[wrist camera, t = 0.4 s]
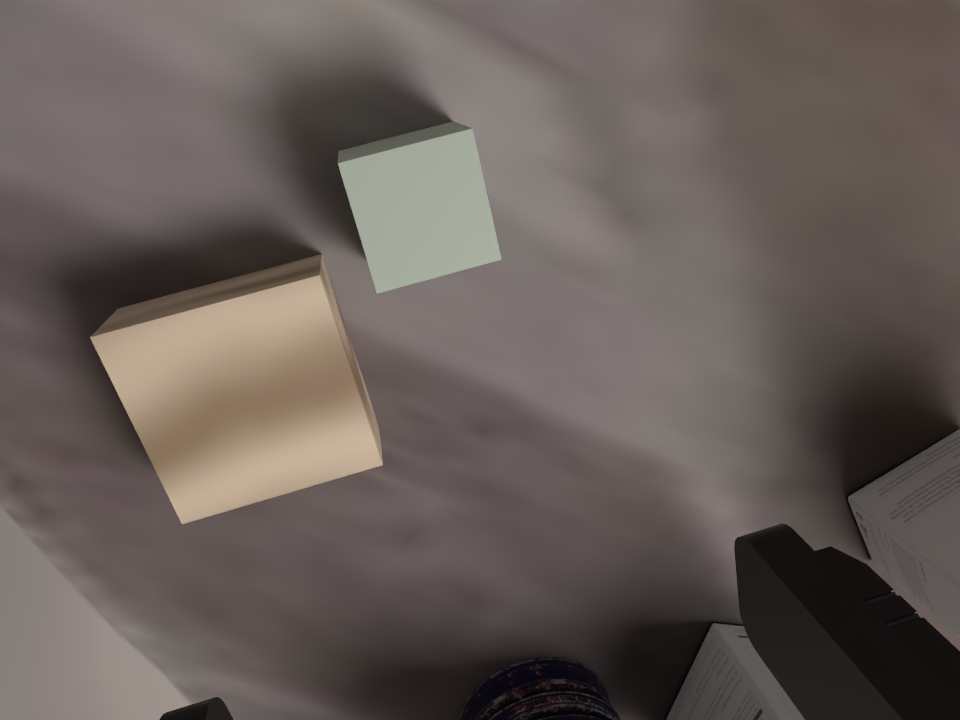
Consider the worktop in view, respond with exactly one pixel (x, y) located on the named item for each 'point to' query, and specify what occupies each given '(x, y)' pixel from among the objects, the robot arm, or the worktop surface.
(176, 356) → the maple box
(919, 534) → the skincare box
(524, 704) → the storage jar
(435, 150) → the sage cube
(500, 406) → the worktop surface
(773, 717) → the supplement box
